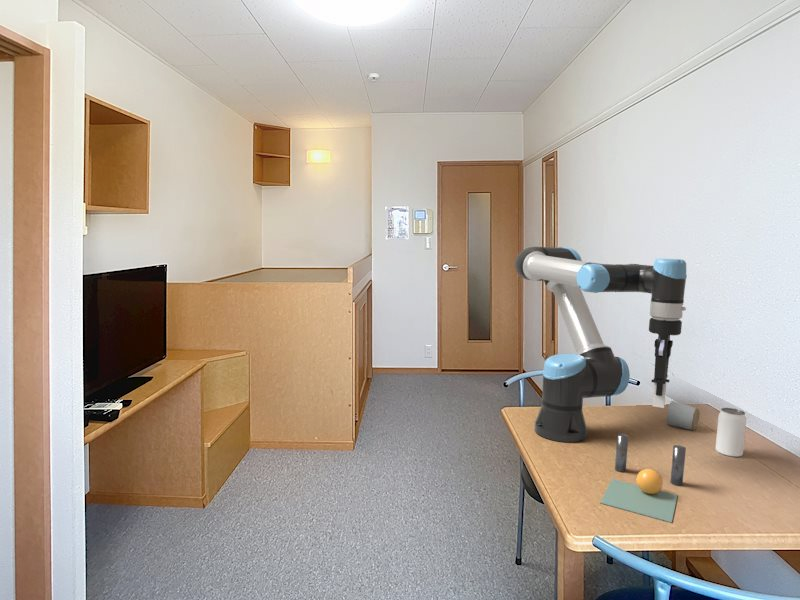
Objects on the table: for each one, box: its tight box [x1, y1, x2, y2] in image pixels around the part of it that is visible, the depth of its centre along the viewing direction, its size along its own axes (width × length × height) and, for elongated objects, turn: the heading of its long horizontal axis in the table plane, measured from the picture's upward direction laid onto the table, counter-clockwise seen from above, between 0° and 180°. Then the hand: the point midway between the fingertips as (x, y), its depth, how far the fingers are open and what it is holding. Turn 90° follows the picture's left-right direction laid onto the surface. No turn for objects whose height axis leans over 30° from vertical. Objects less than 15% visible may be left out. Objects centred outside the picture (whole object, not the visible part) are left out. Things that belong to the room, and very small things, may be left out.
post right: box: [670, 444, 687, 487], centre depth 123 cm, size 3×3×9 cm
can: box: [715, 407, 747, 458], centre depth 143 cm, size 6×6×12 cm
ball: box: [636, 468, 664, 494], centre depth 118 cm, size 6×6×6 cm
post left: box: [614, 433, 630, 473], centre depth 130 cm, size 3×3×9 cm
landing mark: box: [600, 478, 678, 524], centre depth 116 cm, size 14×14×1 cm
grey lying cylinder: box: [665, 400, 700, 431], centre depth 164 cm, size 11×8×8 cm
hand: (658, 406), depth 137 cm, fingers closed
